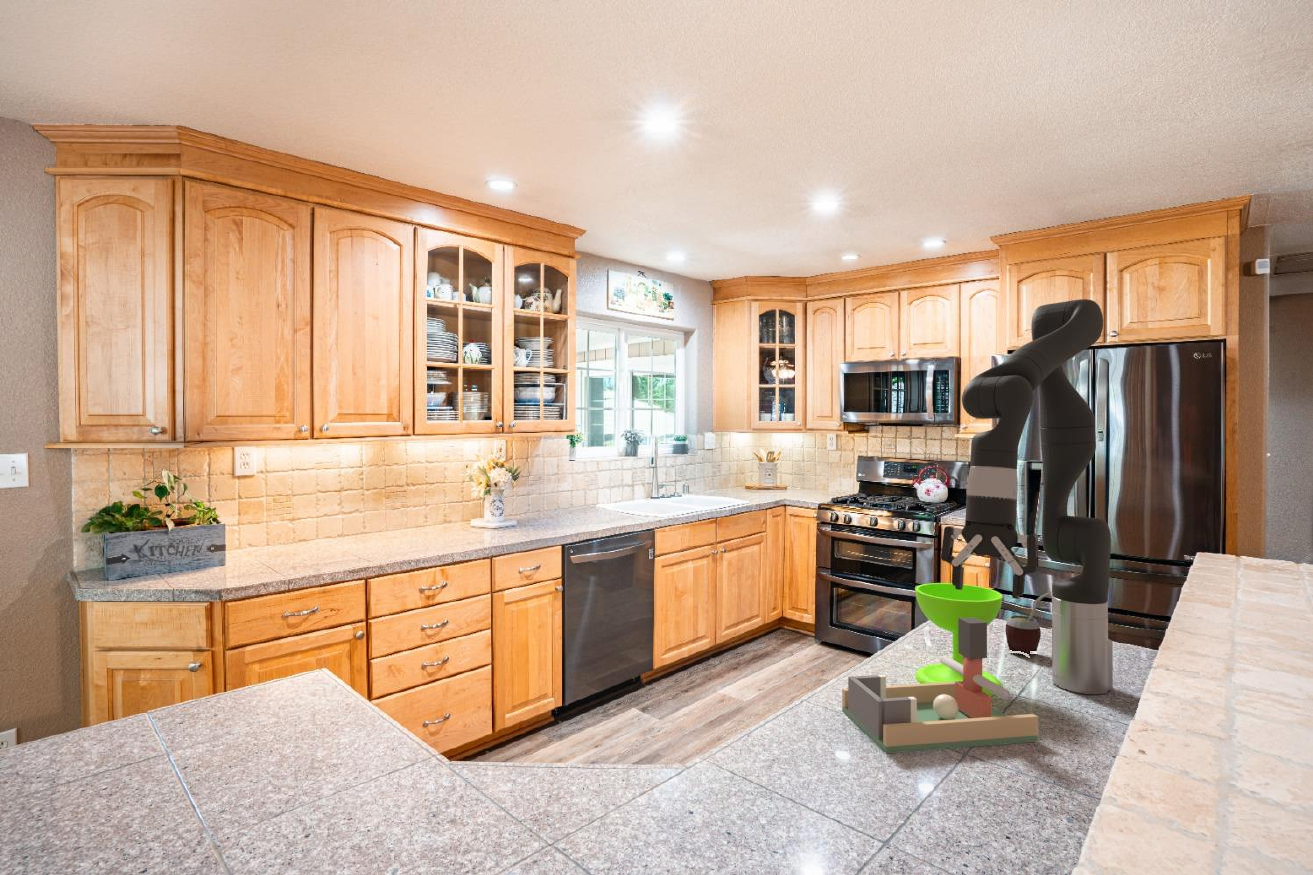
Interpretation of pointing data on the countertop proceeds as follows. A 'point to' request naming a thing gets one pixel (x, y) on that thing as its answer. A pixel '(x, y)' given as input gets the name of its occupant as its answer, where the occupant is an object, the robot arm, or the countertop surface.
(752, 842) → the countertop surface
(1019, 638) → the mate gourd
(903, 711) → the pitch
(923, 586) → the wineglass
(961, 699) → the striker
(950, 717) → the ball
